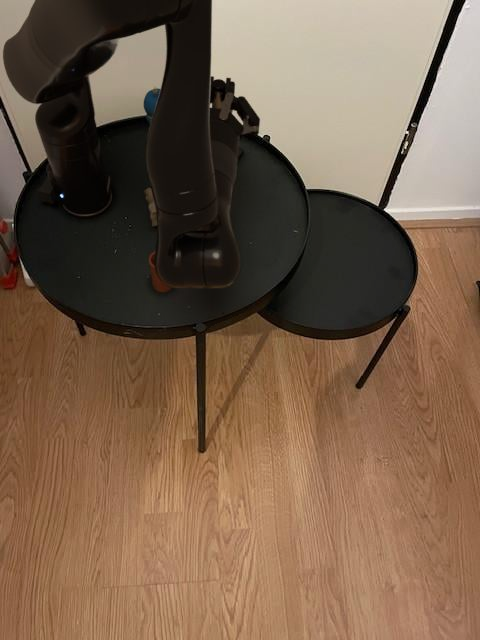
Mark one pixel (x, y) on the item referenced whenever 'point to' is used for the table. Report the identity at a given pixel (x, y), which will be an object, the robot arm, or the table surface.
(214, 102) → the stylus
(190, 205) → the robot arm
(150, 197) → the bone
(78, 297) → the table surface
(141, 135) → the table surface
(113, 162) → the table surface
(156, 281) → the pen cup
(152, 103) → the ornament
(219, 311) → the table surface
